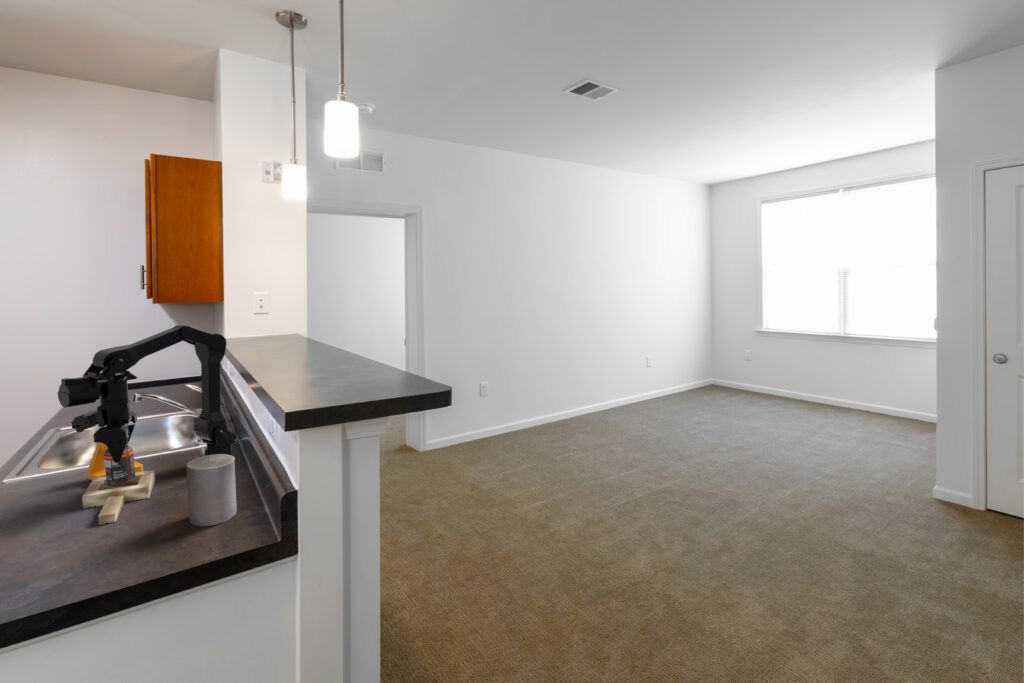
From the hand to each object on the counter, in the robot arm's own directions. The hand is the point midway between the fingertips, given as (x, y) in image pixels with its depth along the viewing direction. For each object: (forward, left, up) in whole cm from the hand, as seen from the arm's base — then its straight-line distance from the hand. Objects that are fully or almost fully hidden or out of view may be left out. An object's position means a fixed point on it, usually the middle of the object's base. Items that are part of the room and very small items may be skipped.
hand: (119, 458), depth 129 cm
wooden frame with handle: (0, +6, -9) cm, 11 cm away
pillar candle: (-21, +26, -10) cm, 35 cm away
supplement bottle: (0, 0, -7) cm, 7 cm away
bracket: (+3, -14, -10) cm, 17 cm away
